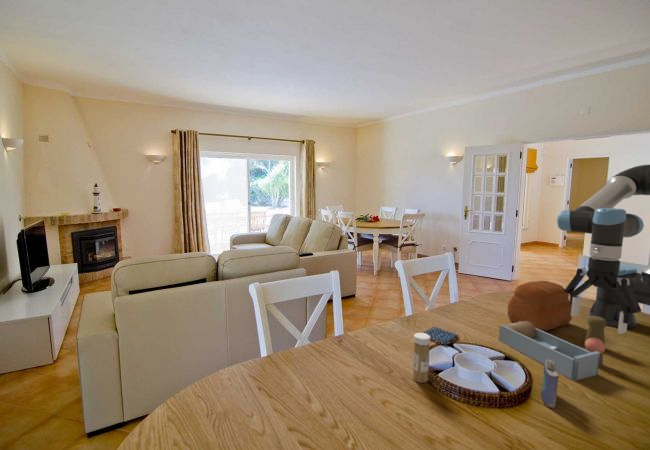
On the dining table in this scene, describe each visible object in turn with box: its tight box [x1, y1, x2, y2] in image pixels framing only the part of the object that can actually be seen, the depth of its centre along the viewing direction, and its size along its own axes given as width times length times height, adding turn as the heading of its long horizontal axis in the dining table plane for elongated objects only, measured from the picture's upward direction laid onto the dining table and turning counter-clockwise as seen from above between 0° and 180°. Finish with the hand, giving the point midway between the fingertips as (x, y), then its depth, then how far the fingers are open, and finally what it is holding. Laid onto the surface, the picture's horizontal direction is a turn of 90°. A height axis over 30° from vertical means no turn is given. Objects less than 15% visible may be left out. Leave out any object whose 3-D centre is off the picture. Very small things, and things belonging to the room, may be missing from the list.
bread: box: [507, 280, 573, 332], centre depth 138 cm, size 18×22×17 cm
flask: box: [540, 359, 560, 410], centre depth 89 cm, size 9×3×11 cm, turn 151°
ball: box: [584, 338, 606, 354], centre depth 107 cm, size 5×5×5 cm
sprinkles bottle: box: [412, 332, 431, 384], centre depth 98 cm, size 5×5×14 cm
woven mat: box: [423, 326, 460, 345], centre depth 125 cm, size 10×11×2 cm
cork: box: [583, 316, 608, 352], centre depth 118 cm, size 6×6×11 cm
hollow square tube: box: [586, 349, 604, 366], centre depth 107 cm, size 3×3×4 cm
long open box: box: [498, 321, 600, 382], centre depth 111 cm, size 10×27×8 cm, turn 20°
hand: (596, 323), depth 106 cm, fingers open, 13 cm apart
